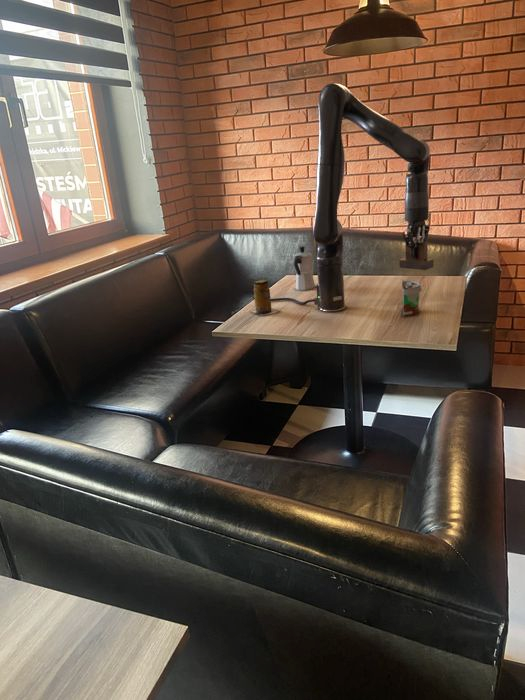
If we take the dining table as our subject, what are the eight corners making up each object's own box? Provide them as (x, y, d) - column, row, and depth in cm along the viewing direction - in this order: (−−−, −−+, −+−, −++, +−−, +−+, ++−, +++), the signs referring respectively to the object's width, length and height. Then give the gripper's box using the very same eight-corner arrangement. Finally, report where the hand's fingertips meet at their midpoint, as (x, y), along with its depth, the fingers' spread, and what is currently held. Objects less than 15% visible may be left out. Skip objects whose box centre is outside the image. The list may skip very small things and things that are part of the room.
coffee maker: (301, 284, 239) (298, 243, 233) (319, 284, 235) (317, 243, 229) (288, 293, 227) (284, 250, 221) (307, 293, 223) (304, 250, 217)
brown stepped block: (399, 267, 184) (399, 242, 181) (407, 264, 187) (407, 239, 184) (425, 270, 177) (426, 243, 174) (433, 267, 180) (434, 241, 177)
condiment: (267, 307, 209) (264, 277, 205) (278, 312, 202) (275, 281, 198) (251, 312, 206) (247, 281, 202) (261, 316, 199) (258, 285, 195)
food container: (422, 317, 179) (422, 288, 175) (403, 318, 180) (403, 289, 177) (420, 306, 190) (420, 279, 187) (402, 307, 191) (401, 280, 188)
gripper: (417, 202, 181) (417, 253, 188) (394, 208, 173) (395, 261, 179) (437, 202, 176) (436, 254, 182) (415, 208, 168) (415, 263, 174)
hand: (416, 257), depth 181 cm, fingers closed on brown stepped block
